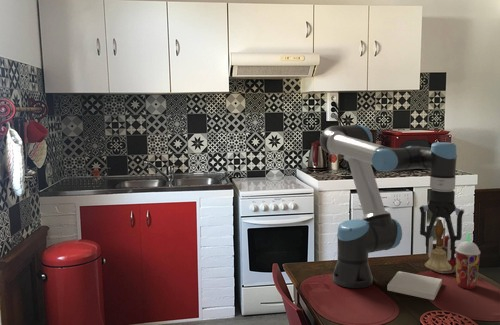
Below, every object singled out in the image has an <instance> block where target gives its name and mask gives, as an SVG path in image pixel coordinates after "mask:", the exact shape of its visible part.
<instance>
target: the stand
mask: <svg viewBox="0 0 500 325" xmlns="http://www.w3.org/2000/svg"><path fill="white" fill-rule="evenodd" d="M442 285H443V279H442V278H436V277H433V276H426V275H421V274H416V273H410V272H405V271H400V270H399V271H397V272H396V273H395V275H394V276H393V278H391V279H390V280H389V282H388V284H387V287H386V289H387V290H386V291H389V292H393V293H399V294H403V295H408V296H413V297H417V298H421V299H427V300H431V301H434V300H435V298H436V296H437V295H438V292H439V291H440V289H441V287H442Z"/></svg>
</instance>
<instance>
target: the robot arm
mask: <svg viewBox="0 0 500 325" xmlns="http://www.w3.org/2000/svg"><path fill="white" fill-rule="evenodd" d="M372 134H373V133H372V132H371V130H370V129H369V128H368V127H367V126H365V125H363V124H362V125H361V124H347V125H331V126H329V127H326V128H325V129H324V130H323V131H322V132H321V134H320V136H319V144H320V147H321V148H322V150H323V151H324V152H326V153H329V154H330V155H335V156H336V155H337V156H338V155H342V157H343V160H345V161H347V162H348V166H349V169H350V172H351V176H352V179H353V182H354V186H355V189H356V193H357V196H358V200H359V203H360V207H361V210H362V213H363V217H362V218H361V219H360V218H359V219H358V218H356V219H354V218H353V219H348V220H344V221H342V222H340V223H339V225H338V227H337V234H336V238H337V261H336V264H335V267H334V269H333V272H332V273H333V274H332V281H333V282H334V283H335V285H338V286H340V287H344V288H348V289H363V288H367V287H370V286H371V285H372V284H373V278H374V277H373V274H372V270H371V268H370V264H369V254H370V253H375V252H380V251H388V250H391V249H394V248H396V247H398V246H400V244H401V240H402V238H403V229H402V225H401V224H400V222H399V221H398V220H396V219H394V218H392V215H391V213H390V212H389V211H387V210H386V209H385V206H384V203H383V199H382V196H381V193H380V190H379V187H378V183H377V180H376V177H375V173H374V170H373V168H374V169H375V170H376V171H378V172H385V173H388V172H389V173H390V172H393V171H405V170H407V171H408V170H415V169H421V170H429V171H430V172H429V173H430V174H429V175H430V177H429V178H430V179H429V188H430V190H429V201H428V204H426V205H420V207H419V208H418V209H419V211H420V224H419V228H420V229H419V235H421V236H423V237H424V238H425V247H427V248H428V256H427V257H428V258H430V256H431V251H432V249H433V244H434V237H433V236H431V235H432V233H433V229H434V228H435V225H436V222H437V218H442V219H444V220H445V223H446V228H447V231H448V235H449V236H450V239H449V240H448V252H447V260H449V261H450V259H451V250H453V251H454V249H455V247H456V241H460V240H461V239H462V233H463V215H464V214H465V209H462V208H461V209H460V208H457V206H456V204H455V196H456V191H454V190H455V189H456V177H457V176H456V169H457V168H456V166H457V157H458V155H457V145H456V144H455V143H454V142H443V141H440V142H433V143H432V144H431V147H428V146H427V147H425V146H420V145H409V146H406V147H389V146H385V145H381V144H378V143H374V142H373V140H374V139H373V138H374V137H373V135H372ZM428 210H429V211H430V213H431V214H432V215H431V218H430V220H429V223H428V227H427V230H426V223H427V212H428ZM454 212H455V215H456V217H457V218H456V234H455V230H454V226H453V223H452V222H453V221H452V217H451V215H453V213H454Z"/></svg>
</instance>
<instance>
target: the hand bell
mask: <svg viewBox="0 0 500 325" xmlns="http://www.w3.org/2000/svg"><path fill="white" fill-rule="evenodd" d="M444 228H445V227H444V224H443V220H442V219H439V218H438V219H436V222H435V224H434V232H435V233H434V235H435V238H436V242H435V244H436V249H433V250H432V251H431V256H430V257H428V258H429V259H428V260H427V261H426V262H424V267H425V268H427V269H429V270H431V269H432V271H434V270H436V271H435V272H437V271H449V270H451V269H452V266H451V265H450V264H449V262H448V260H447V256H446V251H444V250H443V249H442V238H443V231H444Z"/></svg>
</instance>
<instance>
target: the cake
mask: <svg viewBox="0 0 500 325" xmlns="http://www.w3.org/2000/svg"><path fill="white" fill-rule="evenodd" d="M443 228H444V231H443V236H442V249H443V250H444V251H446V256H447V252H448V240H449V239H450V236H449V234H447V235H446V227H443ZM456 248H457V246H455V249H456ZM433 249H436V243H433ZM433 249H432V250H433ZM455 249H454V251H453V250H451V259H450V261H449V260H448V262H449V264H450V265H451V266H452V269H451V270H449V271H436V270H432V269H430V270H432V271H434V272H437V273H440V274H453V273H456V251H455Z"/></svg>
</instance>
